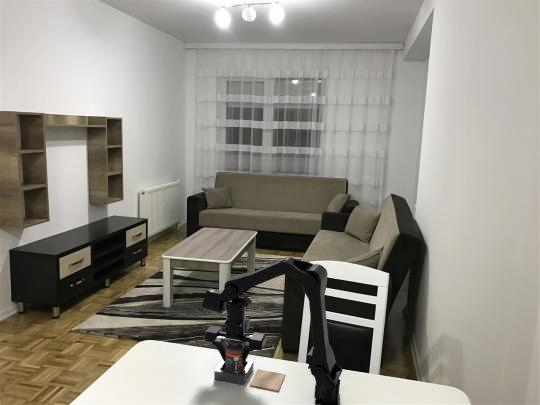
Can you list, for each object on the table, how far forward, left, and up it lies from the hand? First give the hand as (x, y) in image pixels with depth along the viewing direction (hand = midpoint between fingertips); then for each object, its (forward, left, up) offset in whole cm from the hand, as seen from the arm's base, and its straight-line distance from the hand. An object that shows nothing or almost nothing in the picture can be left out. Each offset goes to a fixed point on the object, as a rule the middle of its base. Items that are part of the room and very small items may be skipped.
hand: (234, 362), depth 142 cm
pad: (-11, 0, -4) cm, 12 cm away
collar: (0, 0, -4) cm, 4 cm away
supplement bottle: (0, 0, -4) cm, 4 cm away
